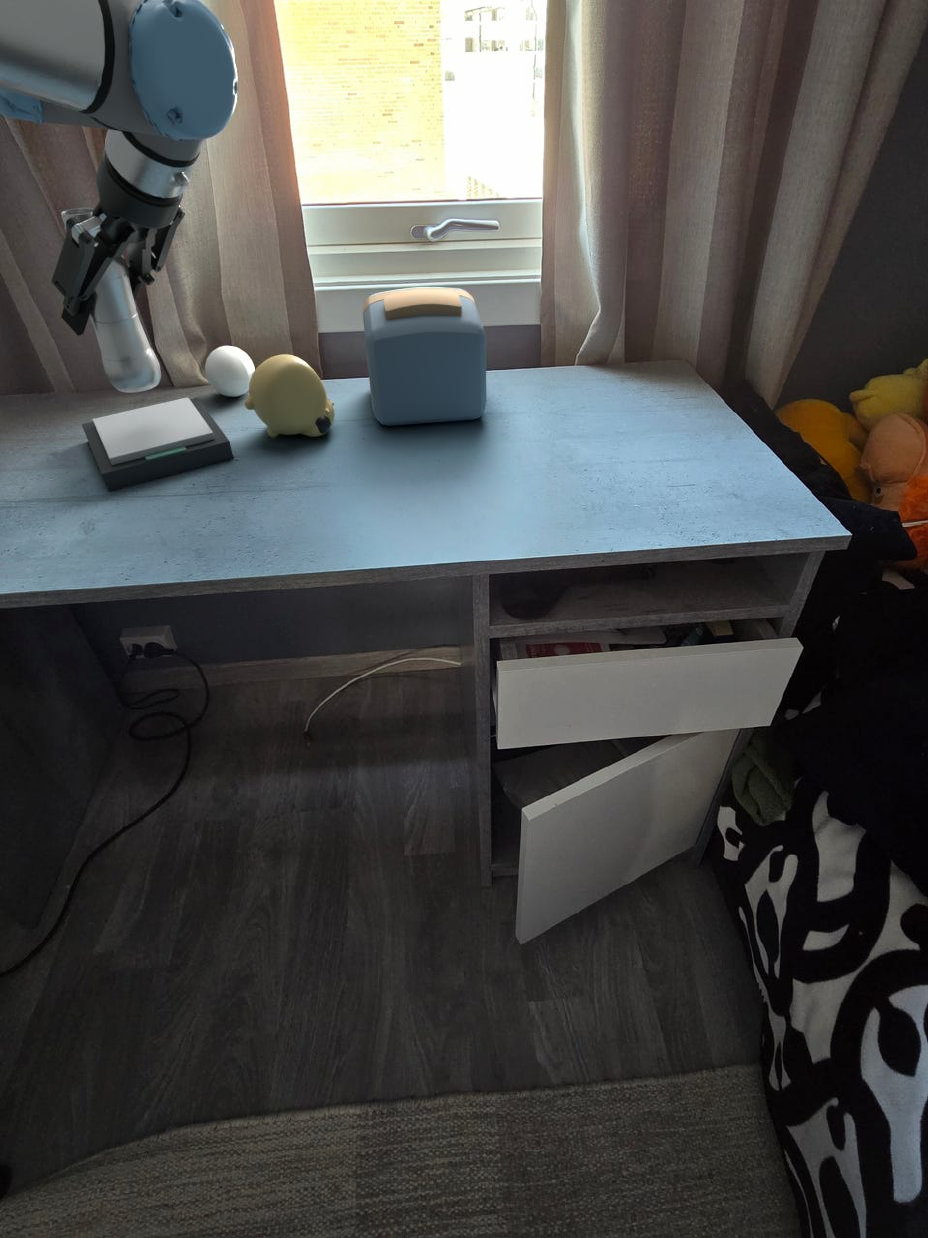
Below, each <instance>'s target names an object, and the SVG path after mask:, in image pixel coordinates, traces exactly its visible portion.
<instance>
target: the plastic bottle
mask: <svg viewBox="0 0 928 1238" xmlns="http://www.w3.org/2000/svg"><path fill="white" fill-rule="evenodd" d="M93 210H94V208H92V207H77V208H70V209H66V210H63V211H61V212H60V216H61V219H62V222H63V224H64V230H65V233H67V231H66V221H67V220H68V219H69V218H70V217H76V218H77V219H78V221H79V222H80V223H82V222H84V221H86V220H88V219H90V218H92V212H93ZM127 264H128V263H127V259H125V257H124V255H123V254H122V256H121V257H120V258H114V259H113V261H112V262H111V264H110V265H109V267H108V268H107V270H106V272H105V273H104V275H103V276H102V278H101V279H100V281H99V283H98V284H97V286H96V287H95V289H94V290H93V292H92V293H91V295H92V296H93V298H94V299H95V300H94V303H93V306H92V309H91V312H90V315H89V319H90V322H91V324H92V327H93V329H94V333H95V337H96V339H97V343H98V346H99V350H100V353H101V362H102V366H103V371H104V374H105V376H106V378H107V379H108V381H109V383H110V384H111V386H113V388H115V389H116V390H117V391H119V392H123V393H131V394H132V393H141V392H146V391H149V390H151V389H154V388H155V387H157V386H158V385H159V384H160V382H161V378H162V373H161V372H162V371H161V364H160V362H159V359H158V357H157V355H156V354H155V352H154V350H153V348H152V347H151V344H150V342H149V340H148V337H147V335H146V333H145V330H144V328H143V324H142V323H141V321H140V317H139V313H138V311H137V306H136V303H135V302H136V301H135V302H134V298H133V295H132V289H131V284H130V279H129V273H128V271H127V270H128V268H127V266H128V265H127Z"/></svg>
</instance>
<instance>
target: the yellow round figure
mask: <svg viewBox="0 0 928 1238" xmlns="http://www.w3.org/2000/svg"><path fill="white" fill-rule="evenodd" d="M334 406H335V403H334V402H333V401H332V400H330V398H328V395H327V391H326V387H325V385H324V383H323V382H322V380H321V378H320V377H319V375H318V374H317V372H316V371H315V370H314V369H313V368H312V367H311V366H310V365H309V364H308V363H307V362H306V361H305V360H303V359H302V358H300V357H298V356H295V355H293V354H284V353H283V354H278V355H274V356H271V357H269V358H267V359H266V360H264V361H263V362H261V363H260V364H259V365H258V366H256V370H255V371H254V373H253V375H252V377H251V379H250V383H249V391H248V397H246V399H245V401H244V407H245V408H246V409H247V410H249V411H252V410H253V411H254V413H255V414H256V416H257V417H258V419H260V421H261V422H262V423H263V424H264V425H265V426H266V428H267V429H266V433H267V435H268V437H270V438H276V437H277V436H279V435H285V436H292V435H293V436H294V435H299V434H301V435H304V436H308V437H312V438H315V437H320V436H323V435H325V434H326V433H328V432H329V431H330V430H331V428H332V426H333V424H334V421H335V416H336V412H335V408H334Z"/></svg>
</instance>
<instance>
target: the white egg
mask: <svg viewBox="0 0 928 1238" xmlns="http://www.w3.org/2000/svg"><path fill="white" fill-rule="evenodd" d="M256 369H257V366H255V364H254V363H253V360H252V358H251V357H250V356H249V355H248V354H247V353H246V352H245V351H243V350H242V349H241V348H239V347H237V346H231V345H222V346H219V347H217V348H215V349H213V350H212V351H211V352H210V354H209V355H208V356H207V358H206V360H205V364H204V372H205V377H206V379H207V382H208V384H209V385H210V386H211V387H212V388H213V389H214V390H215V391H216V392H218V393H219V394H220V395H223V396H225V397H231V398H232V397H233V398H236V397H241V396H242V395H245V394H246V393H249V383H250V379H251V377H252V375H253V373H254V371H255V370H256Z"/></svg>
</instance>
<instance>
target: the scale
mask: <svg viewBox="0 0 928 1238" xmlns="http://www.w3.org/2000/svg"><path fill="white" fill-rule="evenodd" d="M214 419H215V418H213V416H212V415H211V414H210V412H209V410H208V409H207V408H206V407H205V406H204V404H203V403H202V402H201V400H200V399H199V397H195V398H189V397H188V396H187V397H184V398H183V397H182V398H179V399H174V400H170V401H166V402H160V403H156V404H151V405H148V406H144V407H139V408H135V409H131V410H125V411H122V412H118V413H113V414H109V415H105V416H100V417H95V418H92V421H90V422H86V423H81V427H82V429H83V431H84V434H85V437H86V439H87V442H88V444H89V447H90V449H91V451H92V454H93V456H94V457H93V458H94V459H95V461H96V465H97V467H98V470H99V472H100V474H101V476H102V479H103V481H104V483H105V486H106V489H107V492H113V491H116V490H119V489H123V488H128V487H131V486H135V485H139V484H143V483H145V482H150V481H153V480H157V479H160V478H164V477H168V476H172V475H176V474H180V473H183V472H187V471H190V470H195V469H198V468H202V467H205V466H209V465H213V464H217V463H220V462H224V461H228V460H232V459H234V458H235V457H234V452H233V449H232V445H231V441H230V440H229V438H228V437H227V435H226V434H225V433H224V431H223V430H222V428H220V426H219V425H218V423H217V422H216V421H215V420H214Z"/></svg>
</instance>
